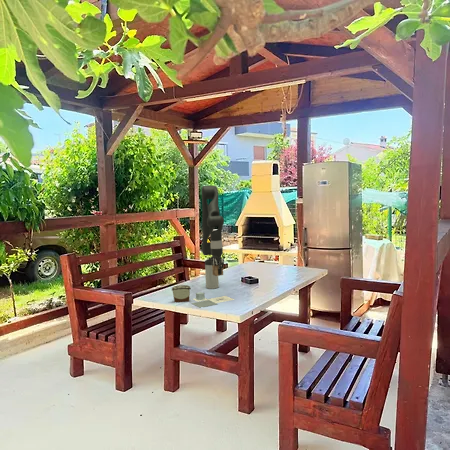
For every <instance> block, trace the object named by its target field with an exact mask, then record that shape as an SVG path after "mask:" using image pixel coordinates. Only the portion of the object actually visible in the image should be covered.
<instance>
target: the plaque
mask: <svg viewBox="0 0 450 450" xmlns="http://www.w3.org/2000/svg"><path fill="white" fill-rule="evenodd" d="M206 299H208V298H206V297H205V299H203V300H197V299H196V297H195V298H192V300H194V301H195V302H200V301H205V300H206Z"/></svg>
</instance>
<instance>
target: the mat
mask: <svg viewBox="0 0 450 450" xmlns="http://www.w3.org/2000/svg"><path fill="white" fill-rule="evenodd" d="M191 305H194V306H195V307H197V308H199V309H201V307H203V308H207V307H212V306H217V305H219V303H214V302H212V301H210V300H206V301H205V300H204V301H198V302H197V301H195V302H191Z"/></svg>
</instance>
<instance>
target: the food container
mask: <svg viewBox="0 0 450 450" xmlns="http://www.w3.org/2000/svg"><path fill="white" fill-rule="evenodd" d="M171 291H172V295H173V301H174V302H176V303H188V302H190V297H191V296H190V295H191V294H190V292H191V286H190V285H188V284H187V285H186V284H178V285H175V286H172V287H171Z"/></svg>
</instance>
